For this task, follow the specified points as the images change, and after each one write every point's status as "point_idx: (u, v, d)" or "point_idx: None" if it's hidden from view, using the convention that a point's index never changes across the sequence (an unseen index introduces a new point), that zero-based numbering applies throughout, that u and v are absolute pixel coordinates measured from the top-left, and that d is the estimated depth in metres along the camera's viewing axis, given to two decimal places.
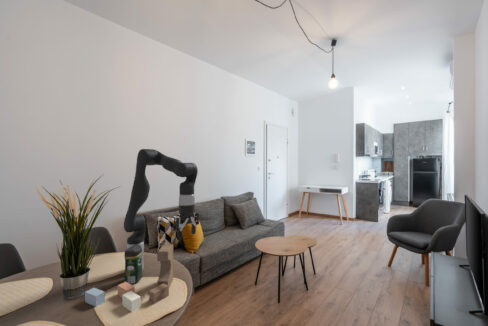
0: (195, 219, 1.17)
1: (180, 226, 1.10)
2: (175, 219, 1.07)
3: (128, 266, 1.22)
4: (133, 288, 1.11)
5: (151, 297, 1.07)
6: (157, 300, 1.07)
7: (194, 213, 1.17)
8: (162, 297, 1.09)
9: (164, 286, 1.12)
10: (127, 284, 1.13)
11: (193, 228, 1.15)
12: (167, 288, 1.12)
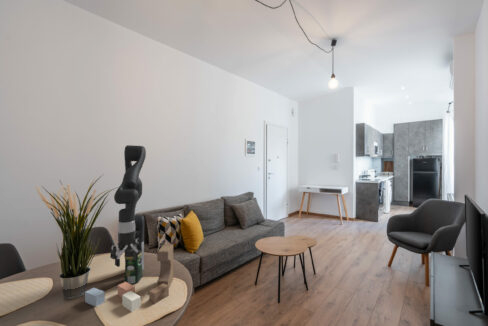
0: (137, 245, 1.17)
1: None
2: (112, 247, 1.06)
3: (128, 266, 1.22)
4: (133, 288, 1.11)
5: (151, 298, 1.07)
6: (157, 300, 1.07)
7: (136, 239, 1.16)
8: (162, 297, 1.09)
9: (164, 286, 1.12)
10: (127, 284, 1.13)
11: (135, 254, 1.15)
12: (167, 288, 1.12)
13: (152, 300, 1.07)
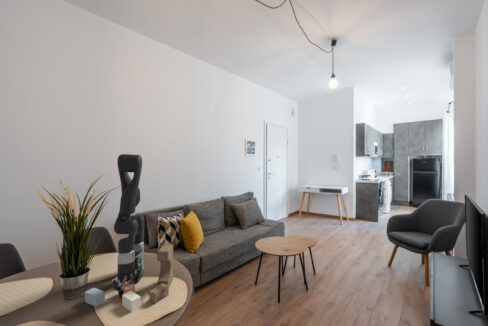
0: (135, 276, 1.16)
1: None
2: (112, 282, 1.07)
3: None
4: (133, 288, 1.11)
5: (151, 298, 1.07)
6: (158, 300, 1.07)
7: (136, 269, 1.16)
8: (162, 297, 1.10)
9: (164, 286, 1.12)
10: (127, 284, 1.13)
11: None
12: (167, 288, 1.12)
13: (152, 300, 1.06)
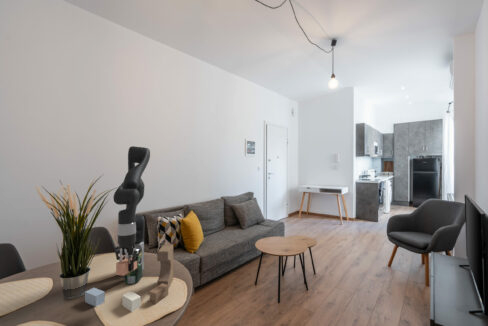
0: None
1: (125, 256, 1.06)
2: None
3: None
4: (122, 265, 1.00)
5: (151, 298, 1.07)
6: (158, 300, 1.07)
7: (135, 248, 1.03)
8: (162, 297, 1.10)
9: (164, 286, 1.12)
10: None
11: None
12: (167, 287, 1.12)
13: (153, 300, 1.06)
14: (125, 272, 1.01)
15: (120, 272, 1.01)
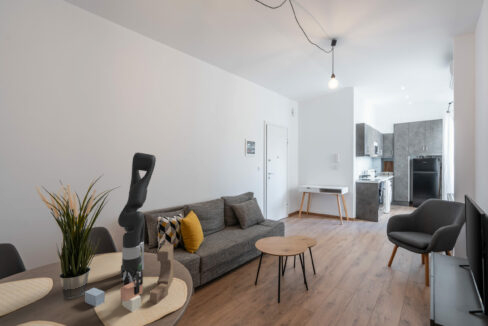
0: None
1: None
2: None
3: None
4: (124, 291, 1.00)
5: (152, 298, 1.07)
6: (159, 300, 1.07)
7: (138, 271, 1.01)
8: (163, 296, 1.10)
9: (163, 285, 1.12)
10: None
11: None
12: (167, 287, 1.13)
13: (153, 300, 1.06)
14: (128, 298, 1.00)
15: (123, 297, 1.00)
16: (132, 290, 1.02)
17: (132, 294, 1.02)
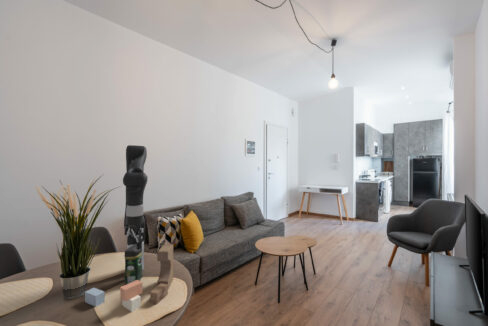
0: None
1: None
2: None
3: (128, 266, 1.22)
4: (124, 291, 1.00)
5: (152, 298, 1.06)
6: (159, 300, 1.07)
7: (140, 228, 1.08)
8: (163, 296, 1.10)
9: (163, 285, 1.12)
10: (134, 284, 1.04)
11: None
12: (166, 287, 1.13)
13: (154, 300, 1.06)
14: (127, 298, 1.00)
15: (123, 297, 1.00)
16: (132, 290, 1.02)
17: (132, 294, 1.02)
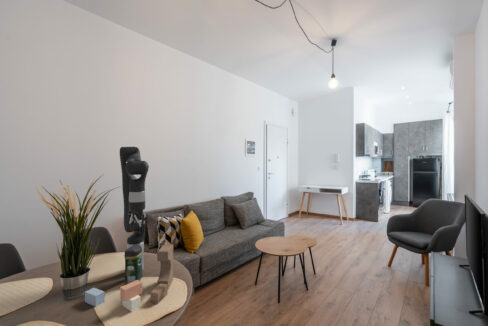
0: None
1: (134, 220, 1.18)
2: None
3: (128, 266, 1.22)
4: (124, 291, 1.00)
5: (153, 298, 1.06)
6: (160, 300, 1.07)
7: (143, 213, 1.12)
8: (163, 296, 1.10)
9: (163, 285, 1.12)
10: (134, 284, 1.04)
11: None
12: (166, 287, 1.13)
13: (154, 300, 1.06)
14: (127, 298, 1.00)
15: (122, 297, 1.00)
16: (132, 290, 1.02)
17: (132, 294, 1.02)
